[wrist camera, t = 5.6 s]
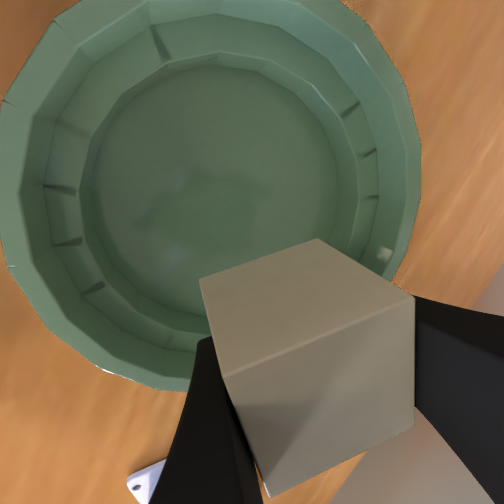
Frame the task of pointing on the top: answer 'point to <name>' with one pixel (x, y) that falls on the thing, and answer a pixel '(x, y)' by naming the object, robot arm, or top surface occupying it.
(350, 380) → the cream cube
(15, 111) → the bowl
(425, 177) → the top surface
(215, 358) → the robot arm
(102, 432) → the top surface
